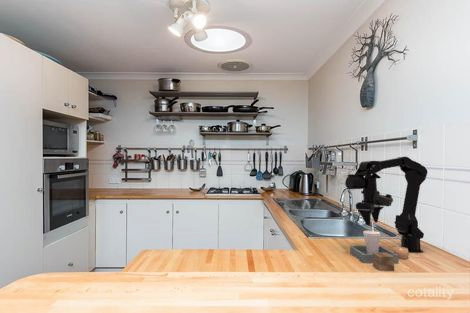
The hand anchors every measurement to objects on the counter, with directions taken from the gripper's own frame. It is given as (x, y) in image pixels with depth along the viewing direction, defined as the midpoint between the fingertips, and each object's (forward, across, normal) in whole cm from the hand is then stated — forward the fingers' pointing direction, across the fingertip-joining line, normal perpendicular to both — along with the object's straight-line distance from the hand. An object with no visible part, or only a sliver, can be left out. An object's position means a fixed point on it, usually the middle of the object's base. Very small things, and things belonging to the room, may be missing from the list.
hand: (372, 223), depth 112 cm
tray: (+12, -9, -2) cm, 15 cm away
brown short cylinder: (+13, 0, -10) cm, 16 cm away
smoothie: (+12, -8, -2) cm, 15 cm away
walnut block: (+12, -19, -9) cm, 24 cm away
